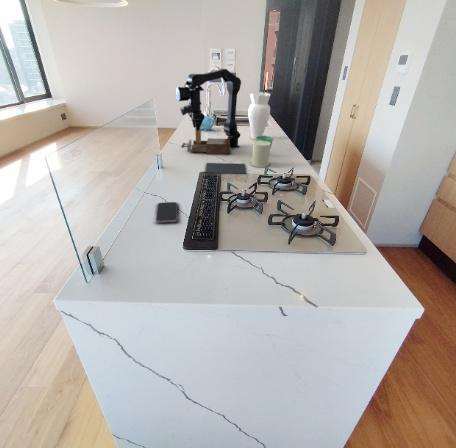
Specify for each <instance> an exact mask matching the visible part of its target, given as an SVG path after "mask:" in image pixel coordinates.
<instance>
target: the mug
mask: <svg viewBox="0 0 456 448" xmlns="http://www.w3.org/2000/svg"><path fill="white" fill-rule="evenodd" d="M255 141H267V142H270V143H271V145H270V149H271V148H272V145H273V141H274V138H273V137H272V136H268V135H265V134H263V136H258V137H256V140H255Z"/></svg>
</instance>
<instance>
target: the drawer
mask: <svg viewBox="0 0 456 448" xmlns="http://www.w3.org/2000/svg"><path fill="white" fill-rule="evenodd" d="M192 143H193V144H192ZM183 148H187V153H190V152H201V153H202V152H205V153H207V140H201V145H196V139H195V140H193V141H192V139H189V140H188V143H185V142H182V144H181V149H183Z"/></svg>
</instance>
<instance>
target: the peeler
mask: <svg viewBox="0 0 456 448" xmlns="http://www.w3.org/2000/svg"><path fill="white" fill-rule="evenodd" d="M194 129H195V130H194V132H195V133H194V134H195V140H196V145H201V141H202V130H201V128H200V129H199V131H197V130H196V127H195V128H194Z"/></svg>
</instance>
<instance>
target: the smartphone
mask: <svg viewBox="0 0 456 448" xmlns="http://www.w3.org/2000/svg"><path fill="white" fill-rule="evenodd" d="M177 221H178V203H177V201H176V202H175V201H171V202H169V201H167V202H158V204H157V209H156V216H155V222H156V223H157V224H158V223H160V224H161V223H176V222H177Z"/></svg>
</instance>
